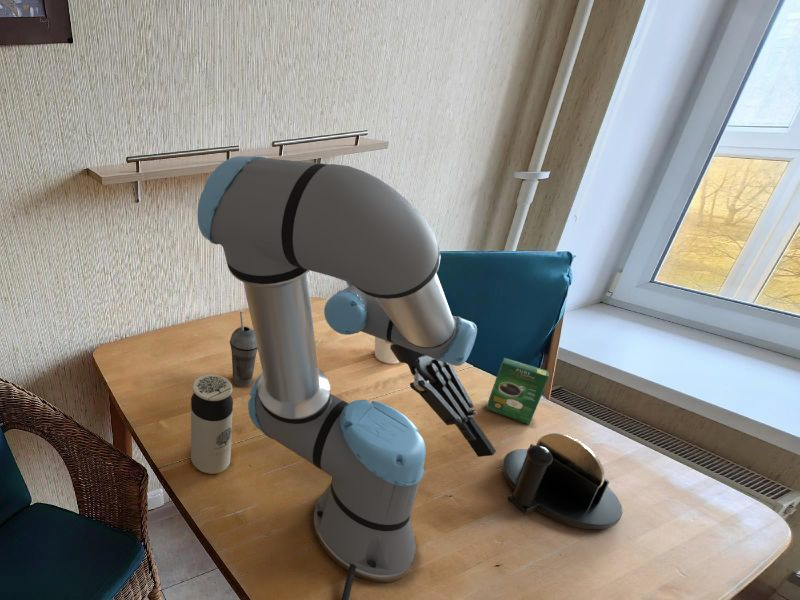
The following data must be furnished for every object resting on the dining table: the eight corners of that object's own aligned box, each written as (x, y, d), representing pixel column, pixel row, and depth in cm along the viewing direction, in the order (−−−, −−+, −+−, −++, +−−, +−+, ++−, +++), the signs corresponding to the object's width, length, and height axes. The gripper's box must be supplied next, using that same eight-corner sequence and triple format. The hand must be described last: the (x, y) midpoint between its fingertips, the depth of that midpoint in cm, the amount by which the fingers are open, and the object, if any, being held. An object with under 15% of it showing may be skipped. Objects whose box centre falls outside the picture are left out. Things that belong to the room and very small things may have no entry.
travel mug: (184, 451, 89) (184, 379, 82) (217, 439, 91) (219, 369, 85) (202, 480, 82) (203, 404, 75) (237, 466, 85) (242, 392, 78)
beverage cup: (256, 391, 106) (261, 321, 99) (227, 388, 107) (230, 318, 100) (256, 374, 112) (261, 306, 105) (228, 371, 114) (231, 304, 107)
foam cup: (408, 353, 119) (417, 312, 115) (405, 371, 112) (414, 328, 107) (371, 344, 124) (378, 304, 119) (366, 360, 117) (373, 318, 112)
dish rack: (569, 551, 66) (597, 491, 62) (468, 472, 81) (485, 418, 76) (642, 510, 73) (673, 452, 68) (536, 443, 87) (556, 392, 82)
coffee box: (531, 419, 95) (549, 369, 90) (531, 426, 93) (549, 376, 88) (487, 403, 100) (502, 356, 95) (485, 410, 98) (501, 361, 93)
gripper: (408, 342, 76) (496, 471, 70) (438, 318, 83) (520, 433, 77) (374, 354, 82) (453, 475, 76) (405, 331, 89) (478, 439, 83)
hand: (486, 453), depth 76 cm, fingers closed
